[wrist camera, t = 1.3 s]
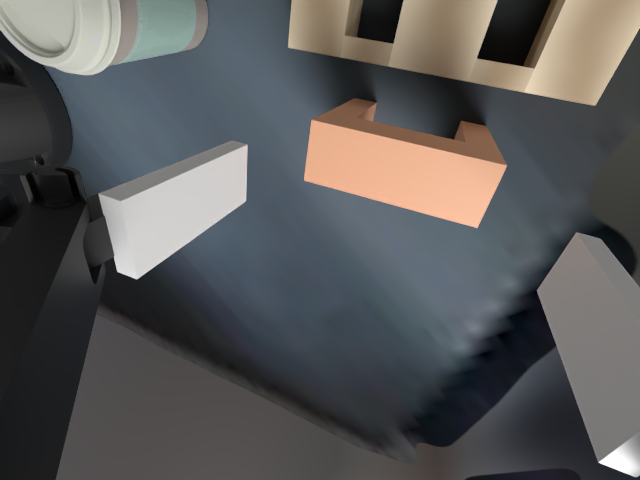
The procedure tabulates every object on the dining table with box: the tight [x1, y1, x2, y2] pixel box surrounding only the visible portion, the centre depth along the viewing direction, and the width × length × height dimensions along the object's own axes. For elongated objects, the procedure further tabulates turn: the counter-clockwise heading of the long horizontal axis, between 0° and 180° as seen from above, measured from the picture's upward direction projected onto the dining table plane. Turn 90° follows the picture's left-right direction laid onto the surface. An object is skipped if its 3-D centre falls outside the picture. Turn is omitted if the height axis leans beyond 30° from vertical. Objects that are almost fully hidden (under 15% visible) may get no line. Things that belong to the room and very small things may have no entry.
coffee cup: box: [0, 0, 208, 75], centre depth 22 cm, size 9×8×12 cm
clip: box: [304, 98, 507, 228], centre depth 21 cm, size 10×4×10 cm, turn 81°
